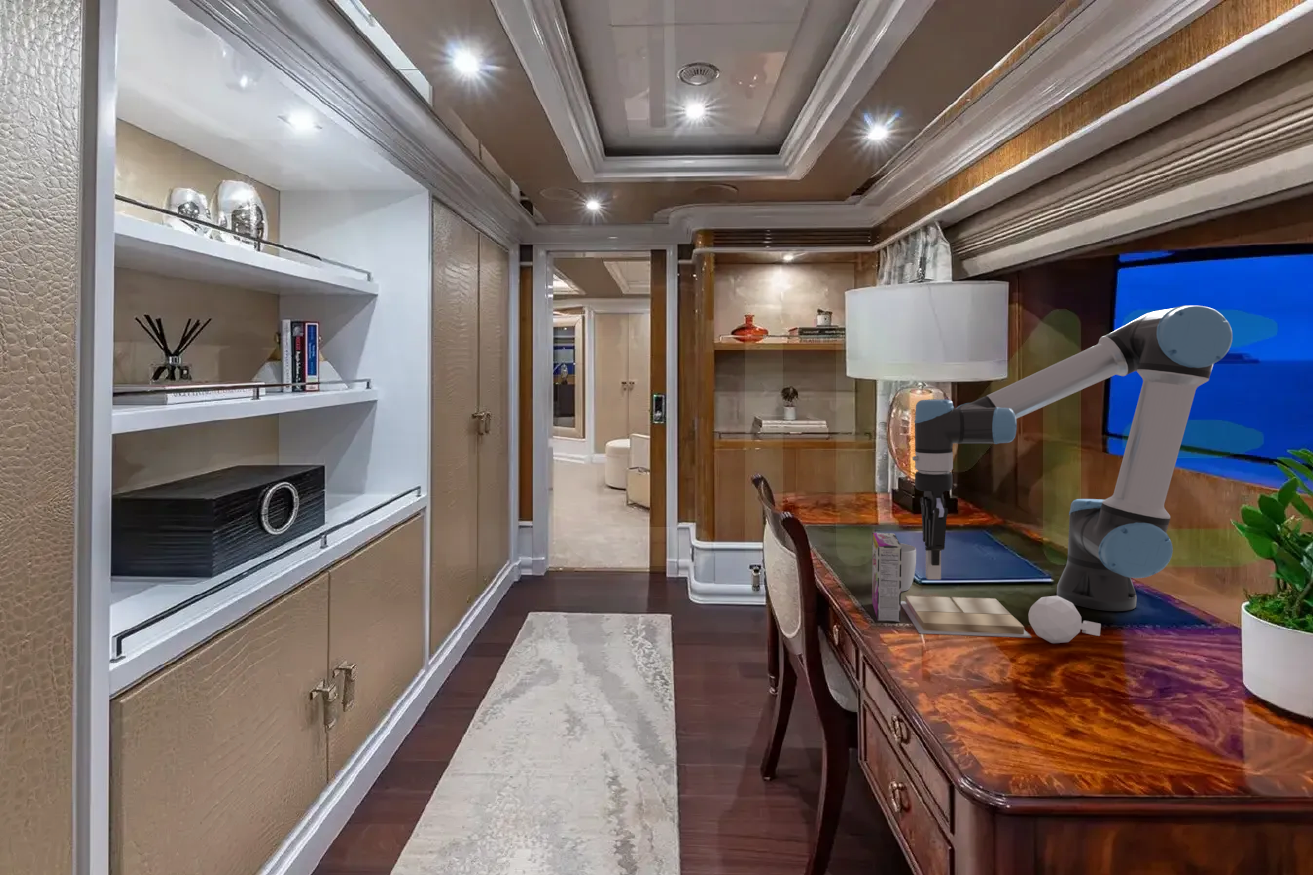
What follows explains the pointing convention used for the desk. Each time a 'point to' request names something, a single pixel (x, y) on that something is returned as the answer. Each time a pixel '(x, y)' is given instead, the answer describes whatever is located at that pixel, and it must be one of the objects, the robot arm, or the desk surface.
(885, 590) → the candy bar box
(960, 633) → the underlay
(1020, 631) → the laid plank
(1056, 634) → the perfume bottle
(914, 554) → the mug
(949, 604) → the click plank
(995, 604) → the panel
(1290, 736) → the desk surface
